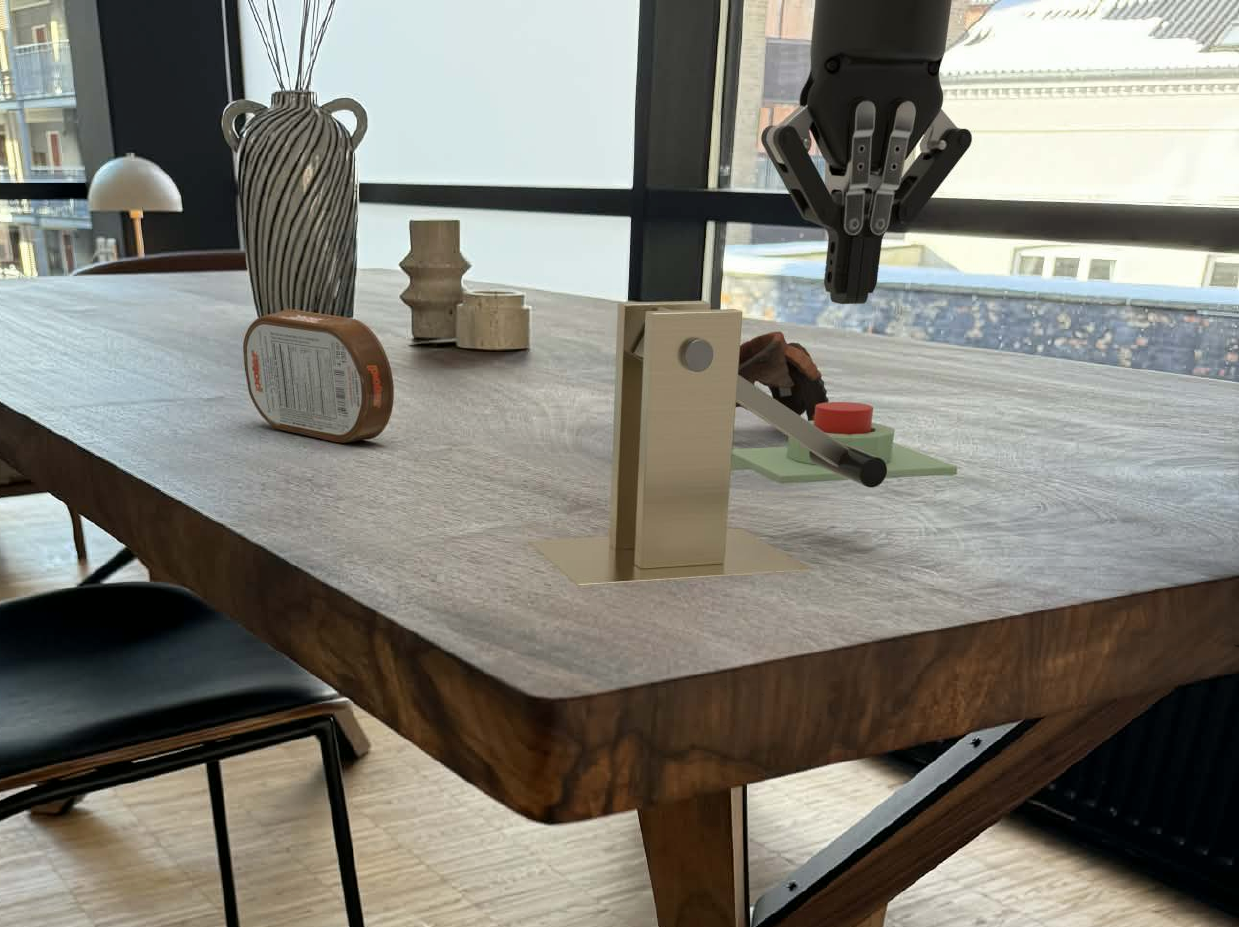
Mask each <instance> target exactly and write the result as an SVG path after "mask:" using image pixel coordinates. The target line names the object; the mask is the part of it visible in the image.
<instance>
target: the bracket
mask: <svg viewBox="0 0 1239 927" xmlns="http://www.w3.org/2000/svg"><path fill="white" fill-rule="evenodd" d="M711 306H712V302H709V301H706V300H681V301H680V300H679V301H677V300H675V301H634V302H633V301H632V302H618V303H617V314H616V315H617V316H616V317H617V319H616V320H617V321H616V344H615V345H616V348H615V352H616V353H615V371H614V398H613V399H614V401H613V402H614V403H613V426H612V427H613V428H612V430H613V431H612V432H613V433H612V457H611V459H612V460H611V482H610V483H611V485H610V486H611V488H610V512H609V536H593V537H578V538H576V537H573V538H557V539H539V540H528V541H527V543H528V544H529V545H531V547H533V549H535V550H536V551H537V552H538V553H540V554H541V555H542V556H543V557H544V558H545V559H546V560H547V561H549V563H551V564H552V565H553V566H555V567H556V569H558V570H559V571H560V572H561V573H563V575H565V576H566V577H567V578H568V579H569V580H571V581H572V582H573V583H574V584H575V585H576V586H577V587H581V586H596V585H612V584H625V583H626V584H627V583H643V582H657V581H671V580H673V581H674V580H685V579H686V580H687V579H688V580H689V579H703V578H717V577H718V578H719V577H733V576H735V577H736V576H746V575H747V576H749V575H761V574H762V575H763V574H764V575H765V574H779V573H793V572H809V571H811V572H812V571H813V569H812V568H811V567H809V566H807V565H806V564H803V563H802V562H800V561H798V560H797V559H795V558H793V557H791V556H790V555H788V554H787V553H785V552H783V551H781V550H780V549H778V548H776V547H774V546H773V545H771V544H769V543H768V542H766V541H765V540H762V539H761V538H758V537H757V536H756V535H753V533H750V532H749V531H747V530H745V529H743V528H729V529H728V516H729V503H730V487H731V476H732V475H731V474H732V470H731V463H732V449H734V435H735V434H734V433H735V420H736V408H737V407H736V395H737V381H738V367H739V354H740V345H741V340H742V339H741V338H742V335H741V334H742V325H743V311H742V310H740V309H735V308H727V309H726V308H721V309H720V308H719V309H718V308H717V309H711ZM659 307H662V308H666V309H669V310H672V311H657V310H658V308H659ZM644 334H645V337H644V360H642V359H640V358H639V357H637V356H636V355H635V354H634V352H635V350H636V348H637V346H638V344H639V343H640V341H641V339H642V337H643V335H644Z"/></svg>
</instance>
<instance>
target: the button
mask: <svg viewBox="0 0 1239 927" xmlns="http://www.w3.org/2000/svg"><path fill="white" fill-rule="evenodd" d="M873 414H874V407H873V406H872V405H870V404H867V403H862V402H861V403H860V402H852V401H829V402H826V403H820V404H817V405H816V406H815V416H814V426H816V427H817V428H819V429H820V430H822V431H823V432H825V433H832V434H866V433H870V432H871V424H872V423H873Z"/></svg>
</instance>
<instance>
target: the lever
mask: <svg viewBox="0 0 1239 927" xmlns="http://www.w3.org/2000/svg"><path fill="white" fill-rule="evenodd" d="M657 311H672V310H669V309H666V308H662V307H659V308H658V310H657ZM644 337H645V334H644V335H643V337H642V339H641V341H640V343H639V344H638V346H637V348H636V350H635V352H634V354H635V355H636V356H637V357H639V358H640V359H642V360H644ZM736 402H737V403H739V404H740V405H742V406H743V407H745V408H746V409H748V410H747V411H749V412H750V413H752V414H754V415H756V416H757V417H758V418H760V419H761V420H763V421H764V422H766V423H767V424H769V425H770V426H772V427H773V428H775V429H776V430H778V431H779V432H781V433H782V434H784V435H785V436H787V437H788V438H789V437H790V438H792V439H793V440H795V441H796V442H798V443H799V444H801V445H802V446H804V447H805V448H807V449H808V450H810V451H809V456H810V459H811V461H812V462H813V463H814V464H816V465H818V466H820V467H823V468H825V469H827V470H830V471H832V472H834V473H836V474H839V475H841V476H843V477H845V478H848V479H850V480H849V481H853V482H854V483H857V484H859V485H862V486H864V487H866V488H870V489H873V488H876V487H878V486H880V485H881V484H882V483H883V482H884V481H885V479H886V478H885V477H886V474H887V466H886V463H885V462H884V460H882V459H881V458H879V457H876V456H874V455H871V454H869V453H866V452H864V451H861V450H859V449H856V448H853V447H851V446H848V445H846V444H843V443H841V442H838V441H837V440H835V439H834V438H832V437H831V436H829V435H828V434H826V433H825V432H823V431H822V430H820V429H819V428H817V427H816V426H814V425H813V424H811V423H810V422H808V419H806V418H804V417H802V415H801V416H799V415H798V414H796V413H795V412H793V411H792V410H790V409H789V408H787V407H786V406H784V405H783V404H781V403H780V402H778V401H777V400H776V399H774V398H773V397H772V395H770V394H768V393H766V392H765V391H764V390H762V389H760V388H759V387H757V386H756V385H755V384H754V385H753V384H752V383H750V382H749V381H747V380H746V379H744V378H743V377H741V376H740V375H738V381H737V395H736ZM743 407H742V408H743ZM745 408H744V409H745ZM746 409H745V410H746Z"/></svg>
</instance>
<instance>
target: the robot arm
mask: <svg viewBox="0 0 1239 927" xmlns="http://www.w3.org/2000/svg"><path fill="white" fill-rule="evenodd" d="M952 2H953V0H814V9H813V20H812V28H811V42H810V52H809V56H810V70H809V74H808V77H807V79H806V81H805V83H804V85H803V87H802V89H801V90H800V91H801V92H800V94H799V100H798V102H799V106H798V107H797V108H796V109H794V110H793V112H791V113H790V114H788V115H787V117H785V118H784V119H783V120H782V121H781V122H780V123H778V124H776V125H772V124H771V125H767V126H766V127H765V128H764V129H763V130H762V133H761V136H760V141H761V144H762V146H763V148H764V149H765V152H766V154H767V155H768V157H769V158H770V161H771V163H772V164H773V166H774V168H775V170H776V173H777V174H778V175H779V177H780V179H781V181H782V182H783V184H784V187H785V188H786V190H787V192H788V193H789V196H790V198H791V199H792V201H793V203H794V206H795V207H796V208H797V210H798V212H799V214H800V216H801V218H802V219H803V220H805V221H808V222H812V223H814V224H816V225H818V226H820V227H822V228H823V229H824V230H826V232H827V236H828V240H827V250H826V259H825V268H824V277H823V278H824V279H823V285H824V288H825V292H827V293H829V296H830V300H831V302H832V303H835V304H840V305H864V304H866V303H867V301H868V298H869V294H874V291H875V289H876V286H877V284H878V276H879V275H878V274H879V268H880V267H879V266H880V259H881V252H882V243H883V239H884V236H885V234H886V233H887V231H889V230H890V229H892V228H894V227H896V226H899V225H901V224H910V223H912V222H914V220H915V219H916V218H917V217H918V215H919V214H920V213H921V212H922V210H923V209H924V207H925V206H926V205H927V203H928V202H929V201H930V200H931V198H932V197H933V196H934V194H935V193H936V192H937V191H938V189H939V188H940V186H941V185H942V184H943V182H944V181H945V180H946V178H948V176H949V174H950V173H951V172H952V171H953V169H954V168H955V167H956V165H958V162H960V160H961V159H962V158H963V156H964V155H965V154H966V152H967V151H968V150H969V148H970V147H971V145H972V142H973V136H972V133H971V131H970V130H969V129H968V128H960V127H958V126H957V125H956V124H955V123H954V122H953V120H951V119H950V117H949V116H948V115H947V114H946V113H945V111H944V110H943V109H942V107H943V104H944V92H943V88H942V84H941V80H940V68H941V65H942V61H943V58H944V56H945V52H946V47H947V40H948V32H949V26H950V17H951V9H952ZM810 133H811V134H810ZM811 135H812V137H813V140H814V142H815V143H816V145H817V147H818V150H819V152H820V154H821V156H822V158H823V159H824V161H825V164H824V165H825V167H824V180H823V178H822V176H821V174H820V172H819V169H818V168H817V167H816V165H815V162H814V161H813V159H812V158H811V156H810V154H809V152H810V150H811V148H812V144H813V142H812V137H811ZM918 144H919V146H918V147H919V150H920V153H919V154H918V156H917V157H916V158H915V160H914V161H913V162H912V163H911V165H910V166H909V168H908V169H907V170H906V172H905V173H904V167H905V161H906V160H907V159H908V158H909V156H910V155H911V154H912V152H913V151H914V149H915V148H916V146H917V145H918ZM903 173H904V174H903Z"/></svg>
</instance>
